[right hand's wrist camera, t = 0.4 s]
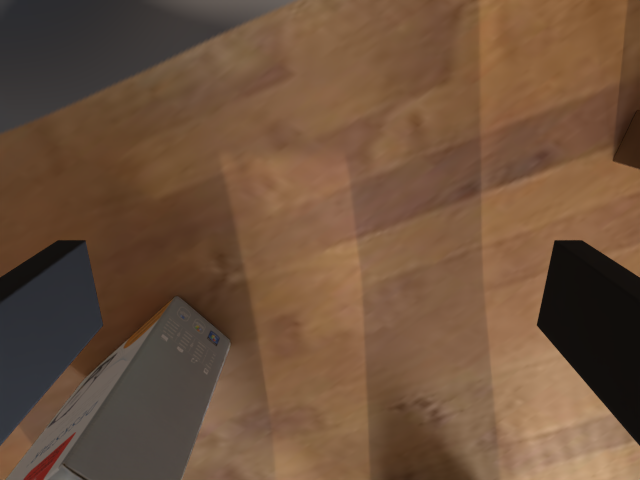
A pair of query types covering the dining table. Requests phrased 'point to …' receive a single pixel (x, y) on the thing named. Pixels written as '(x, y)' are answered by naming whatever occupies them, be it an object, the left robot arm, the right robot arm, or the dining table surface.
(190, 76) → the dining table surface
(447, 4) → the dining table surface
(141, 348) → the hard drive box
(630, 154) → the plank
